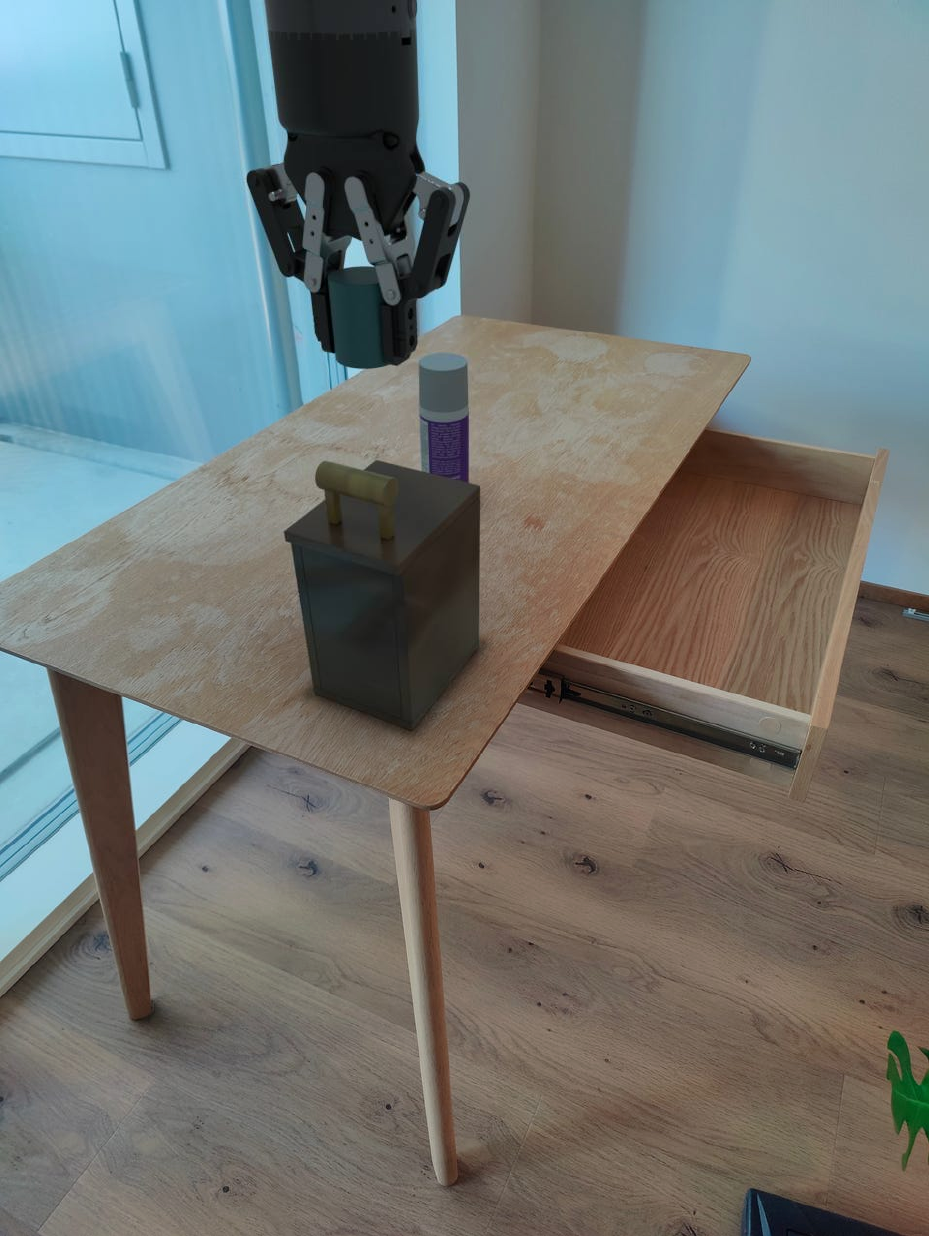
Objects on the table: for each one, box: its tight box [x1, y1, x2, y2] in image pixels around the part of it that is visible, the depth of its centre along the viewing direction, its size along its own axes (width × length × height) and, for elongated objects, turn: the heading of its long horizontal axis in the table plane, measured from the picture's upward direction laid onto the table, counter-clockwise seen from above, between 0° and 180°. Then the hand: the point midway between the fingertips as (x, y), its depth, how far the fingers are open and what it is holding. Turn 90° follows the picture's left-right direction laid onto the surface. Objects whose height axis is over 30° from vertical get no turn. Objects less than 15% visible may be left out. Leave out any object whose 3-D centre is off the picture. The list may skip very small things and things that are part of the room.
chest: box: [290, 495, 481, 732], centre depth 61 cm, size 11×9×14 cm
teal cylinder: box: [328, 265, 390, 370], centre depth 51 cm, size 4×4×5 cm
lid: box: [283, 459, 481, 576], centre depth 55 cm, size 11×9×5 cm
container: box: [418, 352, 470, 483], centre depth 80 cm, size 5×5×15 cm
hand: (367, 353), depth 53 cm, fingers closed on teal cylinder, 4 cm apart
